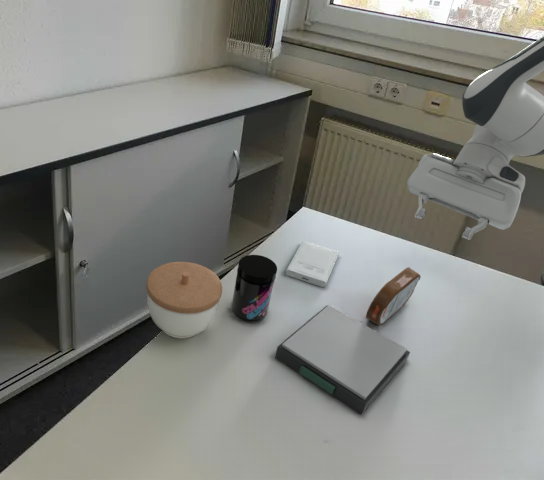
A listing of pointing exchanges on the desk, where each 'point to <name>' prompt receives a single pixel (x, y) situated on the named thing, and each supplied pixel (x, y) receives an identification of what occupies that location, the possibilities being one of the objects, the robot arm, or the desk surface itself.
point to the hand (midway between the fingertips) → (441, 227)
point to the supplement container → (253, 287)
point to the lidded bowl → (183, 298)
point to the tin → (393, 296)
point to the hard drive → (312, 263)
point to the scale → (343, 357)
